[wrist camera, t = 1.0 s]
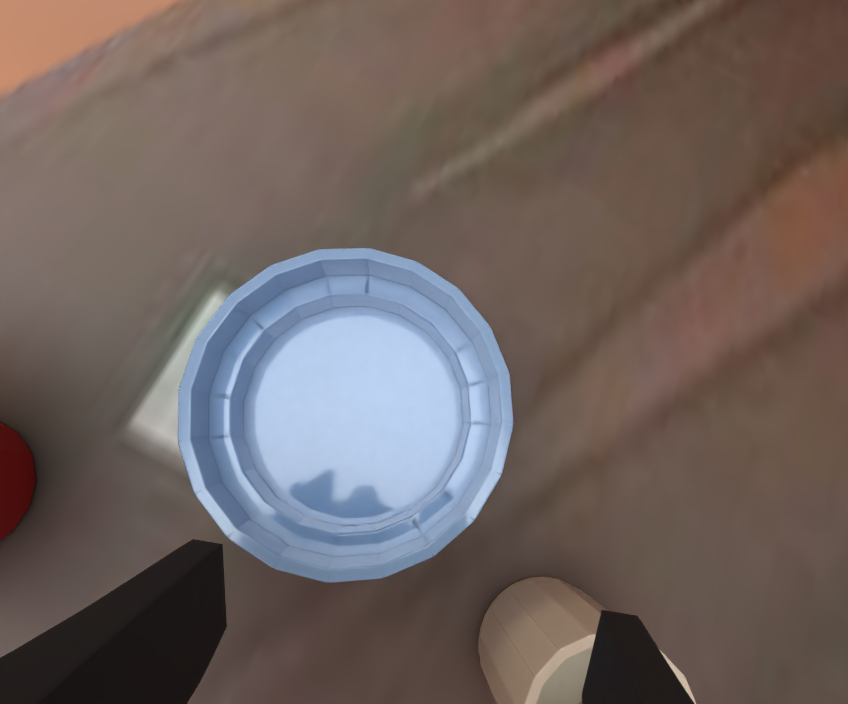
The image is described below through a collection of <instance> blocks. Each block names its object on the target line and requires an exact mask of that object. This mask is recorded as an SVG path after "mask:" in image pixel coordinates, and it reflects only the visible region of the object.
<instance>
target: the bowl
mask: <svg viewBox="0 0 848 704" xmlns="http://www.w3.org/2000/svg"><path fill="white" fill-rule="evenodd" d="M179 388H180V389H179V404H178V442H179V443H178V445H179V448H180V451H181V454H182V457H183V460H184V463H185V466H186V470H187V473H188V476H189V479H190V482H191V485H192V488H193V491H194V493H195V496H196V497H197V498H198V500H199V501H200V502H201V504H202V505H203V506H204V508H205V509H206V510H207V512H208V513H209V514H210V516H211V517H212V518H213V520H214V521H215V522H216V524H217V525H218V526H219V528H220V529H221V530H222V532H223V533H224V534H225V536H226V537H227V538H228V539H229V540H231V541H232V542H234V543H235V544H237V545H238V546H240V547H241V548H243V549H244V550H246V551H247V552H249V553H250V554H252V555H253V556H255V557H256V558H258V559H259V560H261V561H262V562H264V563H265V564H267V565H268V566H270V567H271V568H274V569H275V570H279V571H283V572H287V573H291V574H295V575H299V576H302V577H306V578H310V579H314V580H318V581H322V582H328V583H333V582H345V581H358V580H371V579H381V578H382V577H383V578H385V577H388V576H390V575H392V574H395V573H397V572H399V571H402V570H404V569H406V568H409V567H411V566H413V565H416V564H418V563H420V562H423V561H425V560H428V559H430V558H432V557H433V556H435V555H436V554H437V553H439V552H440V551H441V550H442V549H443V548H444V547H445V546H447V545H448V544H449V543H450V542H451V541H452V540H453V539H455V538H456V537H457V536H458V535H459V534H460V533H461V532H463V531H464V530H465V529H466V528H467V527H468V526H469V525H471V524H472V523H473V522H474V520H475V519H476V518H477V516H478V514H479V513H480V511H481V509H482V508H483V506H484V504H485V503H486V501H487V499H488V497H489V496H490V494H491V492H492V491H493V489H494V487H495V486H496V484H497V482H498V481H499V479H500V477H501V475H502V472H503V468H504V464H505V459H506V455H507V451H508V447H509V442H510V438H511V434H512V429H513V423H514V422H513V410H512V397H511V385H510V374H509V371H508V368H507V366H506V363H505V361H504V358H503V356H502V353H501V351H500V349H499V346H498V344H497V341H496V339H495V336H494V334H493V331H492V329H491V327H490V325H489V324H488V323H487V322H486V321H485V319H484V318H483V317H482V316H481V315H480V313H479V312H478V311H477V310H476V309H475V307H474V306H473V305H472V304H471V302H470V301H469V300H468V299H467V298H466V296H465V295H464V294H463V293H462V292H461V290H460V289H458V288H457V287H456V286H454V285H453V284H451V283H450V282H448V281H447V280H445V279H444V278H442V277H440V276H439V275H437V274H436V273H434V272H433V271H431V270H430V269H428V268H427V267H425V266H423V265H422V264H420V263H419V262H416V261H414V260H410V259H407V258H403V257H399V256H396V255H392V254H389V253H385V252H382V251H378V250H374V249H371V248H370V249H369V248H351V249H320V250H315V251H312V252H309V253H306V254H303V255H300V256H297V257H294V258H291V259H288V260H285V261H282V262H279V263H276V264H273V265H271V266H269V267H268V268H266V269H265V270H263V271H262V272H261V273H259V274H258V275H256V276H255V277H254V278H252V279H251V280H249V281H248V282H247V283H245V284H244V285H243V286H241V287H240V288H238V289H237V290H236V291H234V292H233V293H231V294H230V295H229V296H228V297H227V298H226V299H225V301H224V302H223V303H222V305H221V306H220V307H219V309H218V310H217V311H216V313H215V314H214V315H213V317H212V318H211V319H210V321H209V322H208V323H207V325H206V326H205V327H204V328H203V330H202V331H201V332H200V334H199V335H198V336H197V339H196V341H195V343H194V346H193V349H192V352H191V355H190V358H189V361H188V363H187V366H186V369H185V372H184V375H183V378H182V381H181V383H180V386H179Z"/></svg>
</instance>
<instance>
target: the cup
mask: <svg viewBox="0 0 848 704" xmlns="http://www.w3.org/2000/svg"><path fill="white" fill-rule="evenodd" d="M602 610H606V611H608V610H607V609H605V608H604V607H603V606H601V605H600V604H599V603H598V602H596V601H595V600H594V599H592V598H591V597H590V596H588V595H587V594H586V593H584V592H583V591H582V590H580V589H578V588H576V587H574V586H573V585H571V584H569V583H567V582H565V581H562V580H559V579H556V578H551V577H532V578H527V579H523V580H521V581H518V582H516V583H514V584H512V585H510V586H509V587H508V588H506V589H505V590H503V591H502V592H501V593H500V594H499V595H498V596H497V597H496V598H495V600H494V601H493V602H492V603H491V605H490V607H489V608H488V610H487V612H486V614H485V616H484V618H483V621H482V624H481V627H480V633H479V641H478V651H479V659H480V664H481V668H482V671H483V674H484V676H485V679H486V681H487V684H488V687H489V689H490V692H491V694H492V696H493V699H494V701H495V703H496V704H582V691H583V686H584V682H585V678H586V674H587V670H588V665H589V661H590V657H591V653H592V649H593V644H594V640H595V636H596V632H597V628H598V623H599V619H600V615H601V611H602ZM659 650H660V649H659ZM660 652H661V653H662V655H663V656H664V658H665V659H666V661H667V663H668V664H669V666H670V667H671V669H672V670H673V672H674V673H675V675H676V676H677V678H678V679H679V681H680V682H681V684H682V685H683V687H684V688H685V690H686V692H687V693H688V694H689V696H690V697H691V699H692V700H693V702H694V703H695V704H696V702H695V699H694V697H693V694H692V692H691V690H690V687H689V685H688V683H687V680H686V678H685V676H684V675H683V673H682V672H681V671H680V670H679V669H678V668H677V667H676V666H675V665H674V664H673V663H672V662H671V661H670V660H669V659H668V658H667V657H666V656H665V654H664V653H663V652H662V651H661V650H660Z"/></svg>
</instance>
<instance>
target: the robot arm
mask: <svg viewBox="0 0 848 704" xmlns="http://www.w3.org/2000/svg"><path fill="white" fill-rule="evenodd" d="M226 627H227V623H226V604H225V585H224V567H223V548H222V544H217V543H212V542H206V541H200V540H194V539H193V540H191V541H190V542H188V543H186V544H185V545H183V546H181V547H180V548H178V549H177V550H175V551H173V552H172V553H170V554H169V555H167V556H166V557H164V558H163V559H161V560H159V561H158V562H156V563H155V564H153V565H152V566H150V567H149V568H147V569H146V570H144V571H143V572H141V573H139V574H138V575H136V576H135V577H133V578H132V579H130V580H129V581H127V582H126V583H124V584H122V585H121V586H119V587H118V588H116V589H115V590H113V591H111V592H110V593H108V594H107V595H105V596H104V597H102V598H100V599H99V600H97V601H96V602H94V603H93V604H91V605H89V606H88V607H86V608H85V609H83V610H81V611H80V612H78V613H76V614H75V615H73V616H71V617H70V618H68V619H66V620H65V621H63V622H61V623H59V624H58V625H56V626H54V627H53V628H51V629H49V630H48V631H46V632H44V633H42V634H41V635H39V636H37V637H36V638H34V639H32V640H31V641H29V642H27V643H25V644H24V645H22V646H20V647H19V648H17V649H15V650H14V651H12V652H10V653H8V654H6V655H5V656H3V657H1V658H0V704H187V702H188V701H189V699H190V697H191V696H192V694H193V692H194V691H195V689H196V688H197V686H198V684H199V683H200V681H201V679H202V677H203V675H204V673H205V671H206V669H207V667H208V665H209V663H210V661H211V659H212V657H213V655H214V653H215V650H216V648H217V646H218V644H219V642H220V640H221V638H222V635H223V633H224V631H225V629H226ZM582 704H695V703H694V702H693V700H692V699H691V697H690V696H689V694H688V693H687V692H686V690H685V688H684V687H683V685H682V684H681V682H680V681H679V679H678V678H677V676H676V675H675V673H674V672H673V670H672V669H671V667H670V666H669V664H668V663H667V661H666V659H665V658H664V656H663V655H662V653H661V652H660V650H659V648H658V647H657V645H656V644H655V642H654V641H653V639H652V637H651V636H650V634H649V633H648V631H647V630H646V628H645V626H644V625H643V623H642V622H641V621H640V619H639V618H638V617H637V616H635V615H629V614H623V613H617V612H612V611H606V610H602V611H601V615H600V619H599V623H598V628H597V632H596V636H595V640H594V644H593V649H592V653H591V657H590V661H589V665H588V670H587V674H586V678H585V682H584V686H583V691H582Z"/></svg>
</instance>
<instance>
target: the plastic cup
mask: <svg viewBox="0 0 848 704" xmlns="http://www.w3.org/2000/svg"><path fill="white" fill-rule="evenodd" d="M35 482H36V476H35V470H34V463H33V457H32V453H31V452H30V450H29V449H28V447H27V446H26V444H25V443H24V441H23V440H22V438H21V437H20V435H19V434H18V432H16V431H14V430H13V429H11V428H9V427H8V426H6V425H4V424H3V423H1V422H0V541H1V540H2V539H4V538H5V536H7V535H8V534H10V533H11V532H12V531H13V530H14V528H15V527H16V525H17V524H18V523H19V521H20V520H21V518H22V517H23V515H24V514H25V513H26V511H27V510H28V508H29V506H30V502H31V498H32V494H33V490H34V486H35Z"/></svg>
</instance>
